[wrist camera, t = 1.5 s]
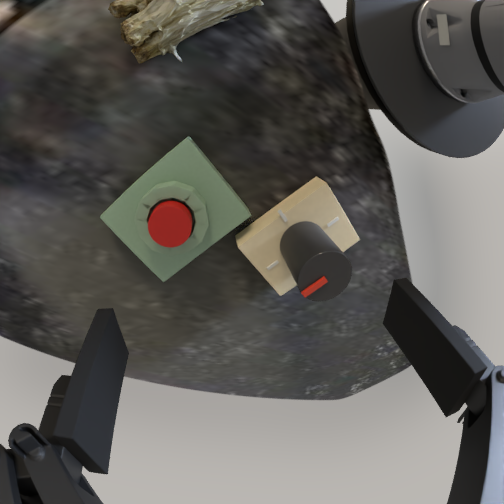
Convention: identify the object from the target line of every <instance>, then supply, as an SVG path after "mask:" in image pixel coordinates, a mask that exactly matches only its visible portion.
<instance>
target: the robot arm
mask: <svg viewBox="0 0 504 504" xmlns="http://www.w3.org/2000/svg"><path fill="white" fill-rule="evenodd" d="M412 35H413V41H414V45H415V49H416V52H417V55H418V58H419V60H420V62H421V64H422V67H423V68H424V70H425V72H426V74H427V75H428V77H429V78H430V80H431V81H432V82H433V84H434V85H435V86H436V87H437V88H438V89H439V90H440V91H441V92H442V93H443V94H445V95H446V96H447V97H449V98H451V99H453V100H455V101H459V102H465V103H478V102H482V101H485V100H488V99H491V98H494V97H497V96H500V95H503V94H504V0H480V1H476V0H423V1H422V2H421V3H420V4H419V5H418V6H417V8H416V9H415V12H414V15H413V20H412ZM383 324H384V326H385V327H386V329H387V330H388V331H389V333H390V334H391V336H392V337H393V338H394V340H395V341H396V343H397V344H398V346H399V347H400V348H401V350H402V351H403V353H404V354H405V356H406V357H407V358H408V360H409V361H410V363H411V364H412V366H413V367H414V369H415V370H416V372H417V373H418V375H419V376H420V378H421V379H422V381H423V382H424V384H425V385H426V387H427V388H428V390H429V391H430V393H431V394H432V396H433V397H434V399H435V401H436V402H437V404H438V405H439V407H440V408H441V410H442V412H443V413H444V415H445V416H446V417H448V416H450V415H451V414H454V413H456V412H457V411H459V410H460V408H461V407H462V405H463V404H464V403H466V404H467V406H468V407H467V408H466V410H465V411H464V412H463V414H462V415H461V416H460V417H459V419H458V422H457V423H460V421H461V420H462V419H463V417H464V422H463V432H462V439H461V444H460V450H459V456H458V461H457V466H456V471H455V475H454V479H453V483H452V487H451V491H450V495H449V499H448V502H447V504H504V366H496V367H495V366H494V365H493V363H491V361H490V360H489V359H488V358H487V356H486V355H485V354H484V353H483V352H482V351H481V350H480V348H479V347H478V346H476V344H475V342H474V341H473V340H471V339H470V337H469V336H468V335H467V334H466V332H465V331H463V330H462V329H460V328H459V327H457V326H452V325H451V324H450V323H449V322H448V321H447V320H446V319H445V318H444V317H443V316H442V314H441V313H440V312H439V311H438V310H437V309H436V308H435V307H434V306H433V305H432V304H431V303H430V302H429V301H428V300H427V299H426V298H425V297H424V295H423V294H421V292H420V291H418V289H417V288H416V287H415V286H414V285H413V284H412V283H411V282H410V281H409V280H408V279H407V278H402V279H396V280H394V282H393V286H392V290H391V295H390V299H389V302H388V306H387V310H386V314H385V318H384V321H383ZM128 355H129V352H128V350H127V347H126V344H125V342H124V339H123V336H122V333H121V331H120V328H119V325H118V322H117V319H116V316H115V313H114V310H113V308H110V309H98V310H97V312H96V314H95V317H94V319H93V321H92V324H91V326H90V329H89V331H88V333H87V336H86V338H85V341H84V343H83V346H82V348H81V351H80V354H79V356H78V359H77V362H76V364H75V368H74V370H73V373H72V375H71V376H66V375H62V376H61V377H60V378H59V379H58V380H57V382H56V383H55V384H54V386H53V389H52V392H51V397H49V400H48V405H47V406H46V409H45V411H44V415H43V418H42V421H41V424H40V427H39V430H37V429H36V428H35V427H34V426H33V425H31V424H26V423H23V424H20V425H18V426H16V427H15V428H14V429H13V430H12V432H11V433H10V435H9V440H8V441H9V447H10V448H11V449H5V448H4V447H3V446H2V445H1V444H0V504H103V503H102V501H101V500H100V499H99V497H98V496H97V495H96V493H95V492H94V490H93V489H92V487H91V486H90V484H89V483H88V481H87V480H86V478H85V477H84V476H83V474H82V467H83V466H84V467H85V468H86V469H87V470H88V471H89V472H94V473H101V474H108V467H109V459H110V452H111V445H112V438H113V432H114V425H115V419H116V414H117V408H118V403H119V397H120V392H121V387H122V382H123V377H124V373H125V368H126V363H127V359H128Z"/></svg>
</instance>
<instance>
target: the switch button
mask: <svg viewBox="0 0 504 504" xmlns="http://www.w3.org/2000/svg"><path fill="white" fill-rule="evenodd" d="M191 230H192V215H191V212H190V211H189V209H188V208H187V207H186V206H185V205H184V204H182V203H180V202H178V201H173V200H169V201H164V202H162V203H160V204H159V205H157V206H156V207H155V209H154V210H153V212H152V214H151V216H150V218H149V221H148V231H149V234H150V236H151V238H152V239H153V240H154V241H155V242H156V243H157V244H159V245H161V246H164V247H177V246H180V245H182V244H183V243H184V242H186V241H187V239H188V238H189V236H190V234H191Z"/></svg>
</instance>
